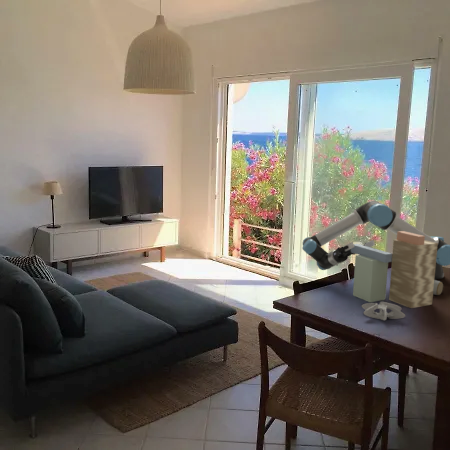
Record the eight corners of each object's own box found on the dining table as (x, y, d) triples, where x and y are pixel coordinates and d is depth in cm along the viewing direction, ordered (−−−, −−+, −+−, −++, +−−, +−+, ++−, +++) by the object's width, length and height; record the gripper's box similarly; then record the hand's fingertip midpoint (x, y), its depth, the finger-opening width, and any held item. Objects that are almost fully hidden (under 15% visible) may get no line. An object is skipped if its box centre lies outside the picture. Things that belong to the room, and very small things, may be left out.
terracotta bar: (396, 239, 253) (397, 231, 252) (402, 239, 255) (403, 231, 254) (417, 245, 242) (418, 236, 241) (424, 244, 244) (424, 235, 243)
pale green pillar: (352, 295, 264) (355, 255, 260) (368, 292, 269) (370, 253, 265) (369, 302, 254) (372, 260, 250) (385, 299, 258) (388, 258, 255)
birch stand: (409, 296, 265) (414, 237, 259) (432, 304, 253) (437, 243, 247) (388, 299, 258) (393, 239, 253) (411, 308, 246) (416, 245, 241)
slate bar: (350, 252, 268) (351, 244, 267) (356, 251, 270) (357, 243, 269) (385, 262, 247) (385, 254, 246) (391, 261, 249) (392, 253, 248)
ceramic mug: (437, 297, 264) (438, 282, 263) (421, 293, 270) (422, 278, 268) (445, 293, 272) (446, 278, 271) (429, 289, 277) (431, 275, 276)
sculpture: (369, 307, 246) (370, 294, 245) (411, 317, 234) (413, 304, 233) (352, 317, 233) (353, 303, 232) (396, 328, 221) (398, 314, 219)
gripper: (358, 260, 285) (384, 248, 267) (321, 265, 273) (346, 252, 255) (354, 247, 287) (380, 234, 269) (317, 251, 275) (342, 238, 257)
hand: (363, 243), depth 262 cm, fingers open, 13 cm apart
